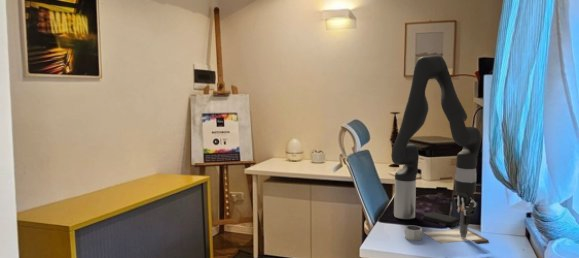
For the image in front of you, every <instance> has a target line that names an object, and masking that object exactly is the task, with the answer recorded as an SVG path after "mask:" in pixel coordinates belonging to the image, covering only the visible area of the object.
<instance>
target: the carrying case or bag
mask: <svg viewBox="0 0 579 258" xmlns="http://www.w3.org/2000/svg"><path fill="white" fill-rule="evenodd" d="M421 220H422V221H426V222H427V221H428V222H430V223H435V224H438V225H439V226H444V227H447V228H448V229H449V228H450V229H452V228H454V227H456V226H457V225H460V222H459V219H458V217H455V216H451V215H447V214H443V213H439V212H432V211H431V212H429V213H426V214H423V215H422V216H421Z"/></svg>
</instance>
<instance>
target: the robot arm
mask: <svg viewBox="0 0 579 258" xmlns="http://www.w3.org/2000/svg"><path fill="white" fill-rule="evenodd" d="M412 75H413V76H412V82H411V86H410V90H409V95H408V99H407V102H406V104H405V105H406V106H405V109H404V113H403V117H402V120H401V124H400V128H399V131H398V134H397V136H396V139H395V140H394V143H393V145H392V149H391V154H390V155H391V160H392V163H393V164H394V165H399V166H402V165H404V167H402V169H399V170H398V171H395V174H394V193H393V194H394V195H393V197H394V198H393V199H394V201H393V215H394V217H395V218H397V219H401V220H412V219H415V218H416V198H417V197H416V193H417V192H416V191H417V189H416V188H417V175H418V170H419V159H420V157H419V155H420V154H419V149H418V146H417V145H416V144H415V143H409V142H410V140H411V138H413V136H415V134H417V132H419V130H421V128H422V127H423V126H424V124H425V122H426V119H427V116H428V113H429V103H428V100H427V97H426V90H427V89H426V88H427V85H428V82H429V81H430V80H433V79H434V80H436V82H437V83H438V85H439V88H440V104H441V108H442V111H443V113H444V115H445V118H446V119H447V121H448V122H449V123H448V125H449V129H450V134H451V136H452V139H453V142H455V143H456V144H457V145H458V146H460V147H462V150H461V151H459V152H458V153H457V155H456V168H455V176H454V178H455V179H454V191H455V192H456V193H455V194H452V201H453V205H454V209H455V210H456V211H457V214H458V217H457V218H458V219H459V222H460V211H461V206H462V208H463V209H464V220H463V224H464V225H468V226H469V225H470V223H471V216H474V215H475V213H476V211H477V208H478V206H479V202H477V201H475V200H474V194H475V193H476V191H477V156H478V153H479V150H480V147H481V143H482V134H481V131H480V130H479V128H477V127H475V126H466V123H465V121H467V119H468V115H467V112H466V110H465V109H464V107H463V105H462V103H461V101H460V98H458V95H457V92H456V90H455V86H454V83H453V80H452V77H451V74H450V70H449V69H448V65H447V63H446V60H445V59H444V58H443V57H442V56H440V55H437V54H436V55H426V56H421V57H419V58H418V59H417V61H416V62H415V65H414V68H413V74H412ZM465 206H468V207H465ZM467 209H468V211H467Z"/></svg>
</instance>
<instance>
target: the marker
mask: <svg viewBox="0 0 579 258" xmlns="http://www.w3.org/2000/svg"><path fill="white" fill-rule="evenodd" d="M465 207H469V206H465ZM467 211H468V209H467ZM463 220H464V209H463V208H462V206H461V211H460V223H459V228H460V234H461V237H462V238H466V234H467V232H468V229H469V225H464V224H463Z"/></svg>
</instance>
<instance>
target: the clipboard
mask: <svg viewBox="0 0 579 258" xmlns="http://www.w3.org/2000/svg"><path fill="white" fill-rule="evenodd" d="M422 234H426V235H427V236H428V237H429V238H431V239H432V240H434V241H436V242H437V243H439V244H447V243H458V242H469V241H470V242H473V243H475V244H485V243H489V239H488V238H485V237H483V236H481V235H479V234H478V233H477V232H474V231H472V230H470V229H469V228H468V232H467V234H466V238H462V237H461V234H460V227H459V228H450V229H440V230H430V231H429V230H428V231H422Z"/></svg>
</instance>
